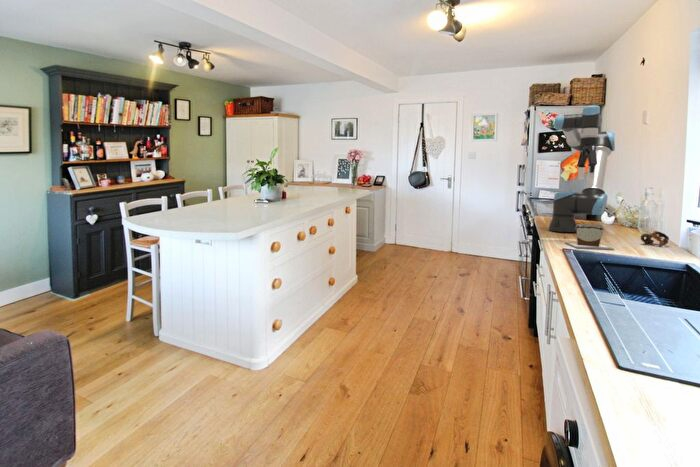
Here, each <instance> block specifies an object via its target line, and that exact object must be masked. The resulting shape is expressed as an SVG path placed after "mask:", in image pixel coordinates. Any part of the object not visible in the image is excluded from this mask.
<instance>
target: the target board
mask: <svg viewBox="0 0 700 467" xmlns="http://www.w3.org/2000/svg"><path fill="white" fill-rule="evenodd" d="M564 244H565V245H567V246H568V247H569V246H570V247H573V248H574V249H576V250H596V251H597V250H599V251H600V250H602V251H614V250H615V248H612V247H609V246H608V245H603V244H601V243H600V245H599V247H593V246H582V245H577V242H564Z"/></svg>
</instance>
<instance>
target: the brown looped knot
mask: <svg viewBox="0 0 700 467" xmlns="http://www.w3.org/2000/svg"><path fill="white" fill-rule="evenodd" d="M662 238H663V239H662ZM653 239H654V240H653ZM640 240H641V241H642V242H643V244H645V245H648V244H653V243H654V241H655V240H656V241H658V242H659V244H657V245H658V247H659V248H661V247H663V246H665V245H666V246H667V244H668V243H669V240H670V237H669V236H668V235H667V234H665V233H663V232H661V231H658V230H656V231H655V230H654V231H653V232H652V233H649V234H648V233H642V234H641V236H640Z"/></svg>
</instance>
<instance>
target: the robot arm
mask: <svg viewBox="0 0 700 467" xmlns="http://www.w3.org/2000/svg"><path fill="white" fill-rule="evenodd" d="M600 112H601V107H600V106H599V105H587V106H584V107H583V108H582V113H574V114H561V115H560V114H559V115H556V116H555V118H554V121H553V126H554V129H555V130H559V131H560V130H561V131H562V132H563V134H564V137H565V138H566V139H565V141H566V143H567V145H568V146H569V147H570V148H571V149H573V150H575V151H578V152H579V156H578V160H577V165H576V166H577V167H578V172H577V180H579V181H584V180H585V171H586V170H585V168H586V162H587V161H588V165H587V176H586V184H585V188H583V189H582V191H581V193H580V192H579V193H578V191H577V190H570V191H560V192H556V193H555V194H554V196H553V205H552V206H553V207H552V208H553V209H552V218H551V220H550V222H549V225H548V229H547V230H548V231H550V232H561V233H562V232H563V233H577V229H575V227H576V226H577V223H576V218H575V216H576V214H577V215H591V216H594V215H600V216H601V215H602V214H603V213H604V212H605V210H606V207H607V204H608V203H607V202H608V194H606V191H605V190H604V189H603V188H604V183H605V176H606V170H607V169H606V168H607V163H608V157H609V156H611V154H612V152H615V150H616V147H615V146H616V145H615V133H614V132H613V131H611V130H610V131H607V130H605V131H599V127H600V126H601V125H602V124H603V117H602V116H601V114H600ZM580 129H581V130H580Z"/></svg>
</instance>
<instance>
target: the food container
mask: <svg viewBox="0 0 700 467" xmlns="http://www.w3.org/2000/svg"><path fill="white" fill-rule="evenodd" d="M576 225H577V226H576V227H575V229H577V232H576V243H577V245H582V246H593V247H599V245H600V244H601V240H602V235H603V231H605V227H604V225H599V224H587V223H586V224H585V223H583V224H578V223H576Z"/></svg>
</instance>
